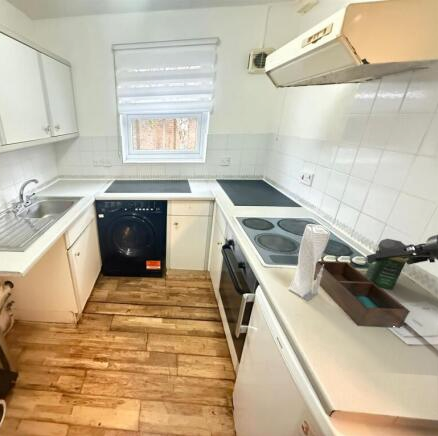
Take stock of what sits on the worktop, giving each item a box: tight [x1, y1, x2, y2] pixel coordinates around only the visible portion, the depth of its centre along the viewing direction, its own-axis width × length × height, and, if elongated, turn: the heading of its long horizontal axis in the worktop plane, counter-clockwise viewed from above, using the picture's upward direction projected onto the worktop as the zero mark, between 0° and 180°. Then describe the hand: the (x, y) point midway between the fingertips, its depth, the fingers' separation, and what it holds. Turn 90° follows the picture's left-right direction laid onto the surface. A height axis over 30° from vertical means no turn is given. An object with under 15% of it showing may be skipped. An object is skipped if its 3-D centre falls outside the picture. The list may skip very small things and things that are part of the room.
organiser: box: [313, 260, 411, 328], centre depth 84 cm, size 13×26×7 cm, turn 176°
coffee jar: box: [364, 238, 409, 291], centre depth 88 cm, size 10×8×19 cm
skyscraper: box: [288, 223, 331, 302], centre depth 83 cm, size 8×8×28 cm
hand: (387, 260), depth 88 cm, fingers open, 13 cm apart
